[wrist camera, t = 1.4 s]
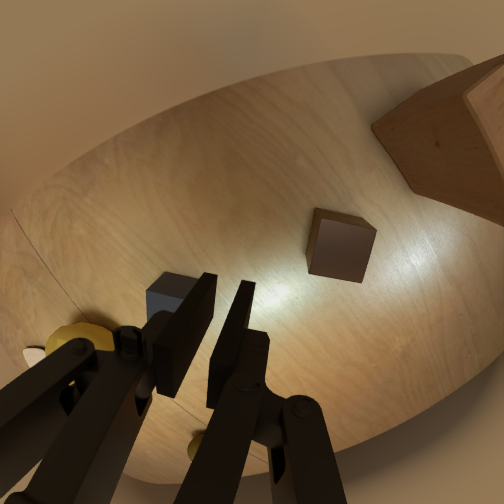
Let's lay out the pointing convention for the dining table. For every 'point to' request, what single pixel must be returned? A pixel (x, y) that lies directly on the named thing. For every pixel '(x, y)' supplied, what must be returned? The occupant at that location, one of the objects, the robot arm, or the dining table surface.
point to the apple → (194, 446)
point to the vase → (85, 330)
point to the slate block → (168, 293)
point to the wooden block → (453, 140)
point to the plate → (33, 355)
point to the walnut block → (339, 246)
